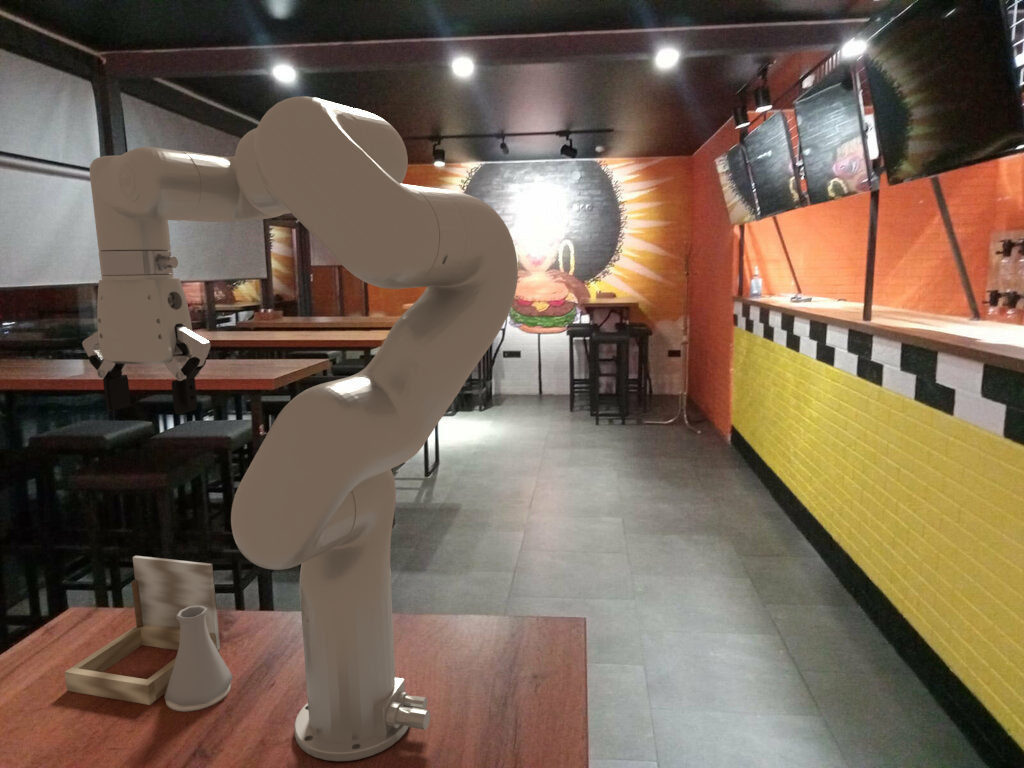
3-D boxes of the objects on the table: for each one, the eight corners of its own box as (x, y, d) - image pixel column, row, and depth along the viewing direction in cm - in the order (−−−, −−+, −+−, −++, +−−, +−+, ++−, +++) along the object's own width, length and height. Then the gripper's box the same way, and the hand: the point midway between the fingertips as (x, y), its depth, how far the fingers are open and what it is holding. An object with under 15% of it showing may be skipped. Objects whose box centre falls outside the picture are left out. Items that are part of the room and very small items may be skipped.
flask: (208, 711, 82) (200, 629, 80) (152, 704, 83) (143, 624, 81) (244, 675, 88) (237, 599, 87) (191, 669, 90) (184, 595, 88)
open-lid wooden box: (220, 648, 96) (212, 563, 94) (149, 704, 84) (139, 609, 82) (145, 637, 99) (135, 555, 97) (67, 690, 87) (54, 598, 85)
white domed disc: (243, 680, 88) (243, 676, 88) (204, 715, 82) (204, 711, 81) (193, 672, 90) (193, 668, 90) (151, 706, 83) (151, 702, 83)
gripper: (221, 265, 85) (233, 406, 88) (102, 267, 90) (117, 401, 93) (177, 266, 78) (191, 420, 81) (50, 268, 82) (68, 414, 85)
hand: (152, 410), depth 87 cm, fingers open, 9 cm apart
